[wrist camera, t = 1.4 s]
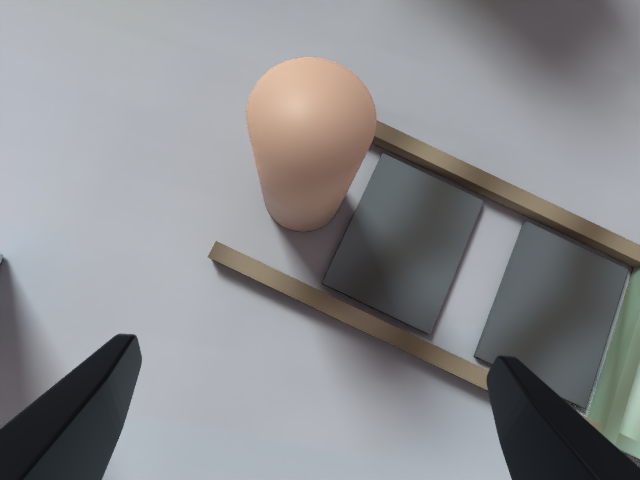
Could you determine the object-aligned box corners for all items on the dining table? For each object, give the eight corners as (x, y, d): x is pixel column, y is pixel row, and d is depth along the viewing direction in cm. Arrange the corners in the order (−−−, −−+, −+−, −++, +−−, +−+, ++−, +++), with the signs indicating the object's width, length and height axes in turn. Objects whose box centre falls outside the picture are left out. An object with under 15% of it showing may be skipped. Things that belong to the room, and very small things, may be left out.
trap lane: (211, 259, 23) (206, 256, 22) (299, 92, 25) (300, 80, 24) (761, 521, 23) (791, 535, 22) (801, 330, 25) (831, 332, 24)
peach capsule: (299, 247, 24) (307, 205, 14) (247, 189, 24) (218, 108, 14) (357, 197, 25) (402, 123, 15) (305, 141, 25) (316, 33, 15)
